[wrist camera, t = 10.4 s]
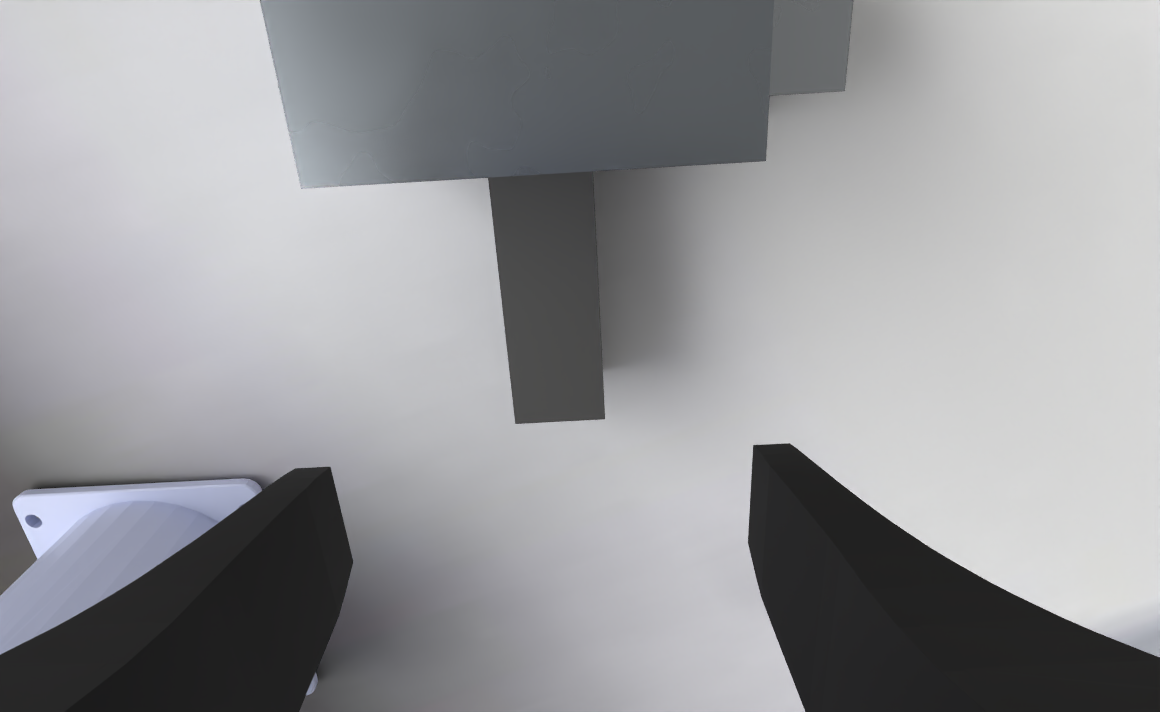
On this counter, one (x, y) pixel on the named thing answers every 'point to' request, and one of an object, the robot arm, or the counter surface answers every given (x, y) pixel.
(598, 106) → the housing
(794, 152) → the counter surface
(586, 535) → the counter surface
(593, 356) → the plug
